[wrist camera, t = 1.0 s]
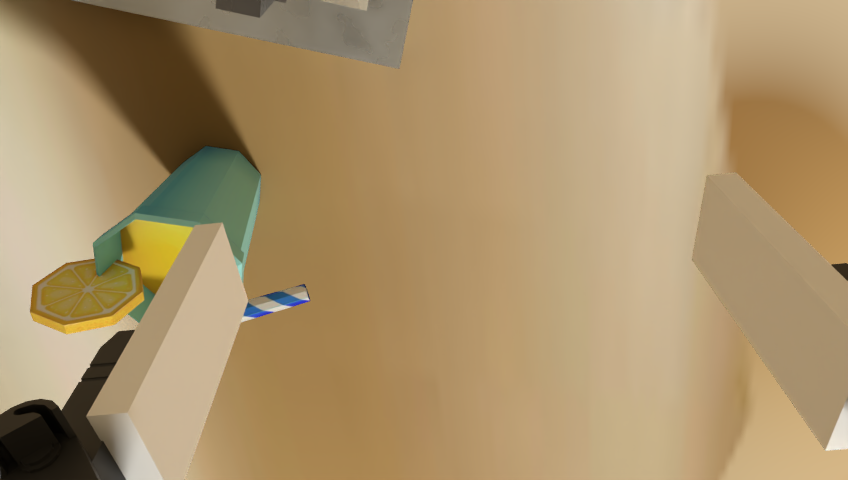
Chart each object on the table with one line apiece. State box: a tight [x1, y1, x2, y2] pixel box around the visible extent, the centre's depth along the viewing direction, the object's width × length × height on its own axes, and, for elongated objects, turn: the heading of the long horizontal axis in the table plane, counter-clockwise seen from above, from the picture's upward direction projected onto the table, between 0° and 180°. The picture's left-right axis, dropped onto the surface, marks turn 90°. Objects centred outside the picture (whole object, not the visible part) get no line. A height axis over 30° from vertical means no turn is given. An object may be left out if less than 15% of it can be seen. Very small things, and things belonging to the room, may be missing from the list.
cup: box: [30, 146, 310, 334], centre depth 33 cm, size 14×8×15 cm, turn 102°
